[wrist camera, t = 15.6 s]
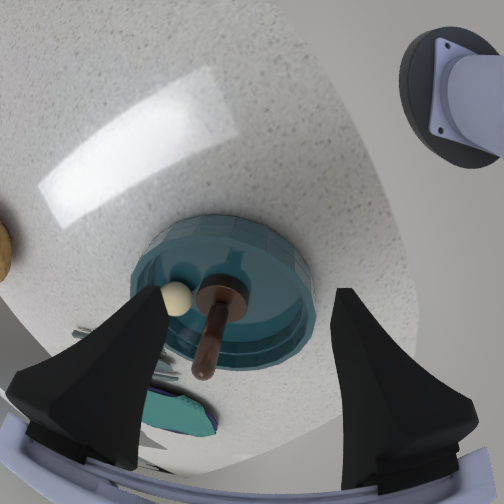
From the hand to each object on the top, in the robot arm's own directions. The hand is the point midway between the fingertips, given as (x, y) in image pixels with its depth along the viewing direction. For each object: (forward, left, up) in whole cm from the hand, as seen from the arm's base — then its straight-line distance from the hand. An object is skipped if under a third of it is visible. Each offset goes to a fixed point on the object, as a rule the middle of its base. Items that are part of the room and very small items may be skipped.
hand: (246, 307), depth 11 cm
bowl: (+3, +9, -10) cm, 14 cm away
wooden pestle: (+3, +9, -10) cm, 13 cm away
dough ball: (+7, +8, -8) cm, 14 cm away
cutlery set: (+16, +33, -11) cm, 38 cm away
